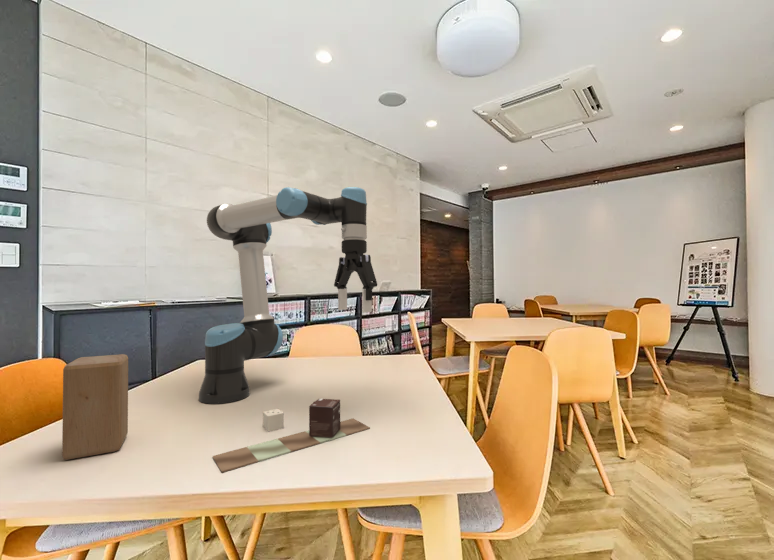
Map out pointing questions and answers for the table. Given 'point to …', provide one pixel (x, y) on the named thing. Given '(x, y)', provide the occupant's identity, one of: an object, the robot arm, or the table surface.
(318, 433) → the box
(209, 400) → the robot arm
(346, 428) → the track
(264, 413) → the die
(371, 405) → the table surface
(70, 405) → the wooden block
